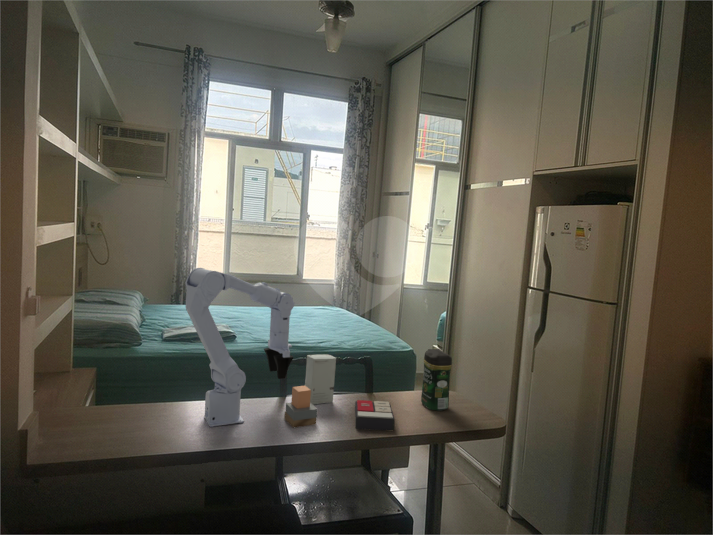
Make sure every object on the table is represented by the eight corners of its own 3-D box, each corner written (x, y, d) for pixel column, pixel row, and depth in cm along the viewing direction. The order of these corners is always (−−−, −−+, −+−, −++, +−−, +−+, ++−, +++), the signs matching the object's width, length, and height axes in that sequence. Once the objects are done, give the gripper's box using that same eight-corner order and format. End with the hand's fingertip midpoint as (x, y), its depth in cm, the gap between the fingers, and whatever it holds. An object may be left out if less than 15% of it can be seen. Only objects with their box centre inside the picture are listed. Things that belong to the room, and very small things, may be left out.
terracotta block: (297, 408, 134) (298, 391, 134) (291, 403, 138) (292, 387, 137) (309, 406, 137) (311, 390, 136) (303, 401, 140) (304, 385, 139)
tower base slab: (293, 429, 132) (293, 420, 132) (284, 419, 138) (284, 411, 138) (316, 425, 136) (316, 417, 136) (306, 416, 142) (306, 408, 142)
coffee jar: (417, 401, 160) (421, 347, 158) (438, 400, 162) (443, 347, 160) (429, 412, 150) (433, 354, 149) (451, 411, 152) (456, 354, 151)
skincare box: (310, 405, 150) (312, 359, 149) (303, 399, 155) (305, 354, 154) (334, 402, 154) (336, 357, 153) (326, 396, 159) (329, 352, 158)
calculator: (390, 400, 149) (395, 416, 134) (389, 414, 149) (394, 431, 134) (355, 398, 149) (356, 414, 134) (354, 412, 149) (355, 429, 134)
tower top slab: (293, 420, 132) (294, 412, 132) (285, 411, 138) (286, 403, 138) (316, 417, 135) (317, 409, 135) (307, 408, 142) (308, 400, 141)
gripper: (300, 335, 140) (298, 380, 141) (283, 325, 153) (281, 366, 154) (277, 336, 137) (275, 382, 138) (262, 326, 149) (260, 368, 150)
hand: (277, 374), depth 145 cm, fingers open, 7 cm apart
